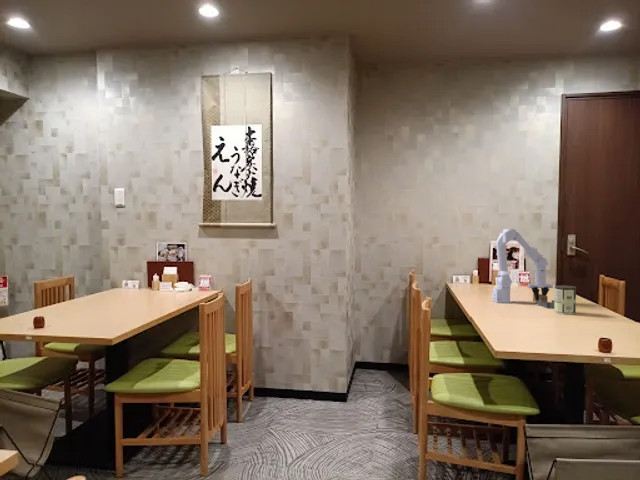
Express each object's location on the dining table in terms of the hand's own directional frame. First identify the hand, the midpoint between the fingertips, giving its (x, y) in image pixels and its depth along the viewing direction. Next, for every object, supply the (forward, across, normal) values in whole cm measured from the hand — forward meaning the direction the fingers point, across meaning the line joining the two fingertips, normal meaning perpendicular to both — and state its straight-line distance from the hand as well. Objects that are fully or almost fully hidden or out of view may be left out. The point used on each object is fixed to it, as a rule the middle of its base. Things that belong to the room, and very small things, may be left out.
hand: (540, 300), depth 285 cm
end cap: (+1, -2, -14) cm, 14 cm away
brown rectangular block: (+1, 0, 0) cm, 1 cm away
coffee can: (+2, -4, -32) cm, 32 cm away
